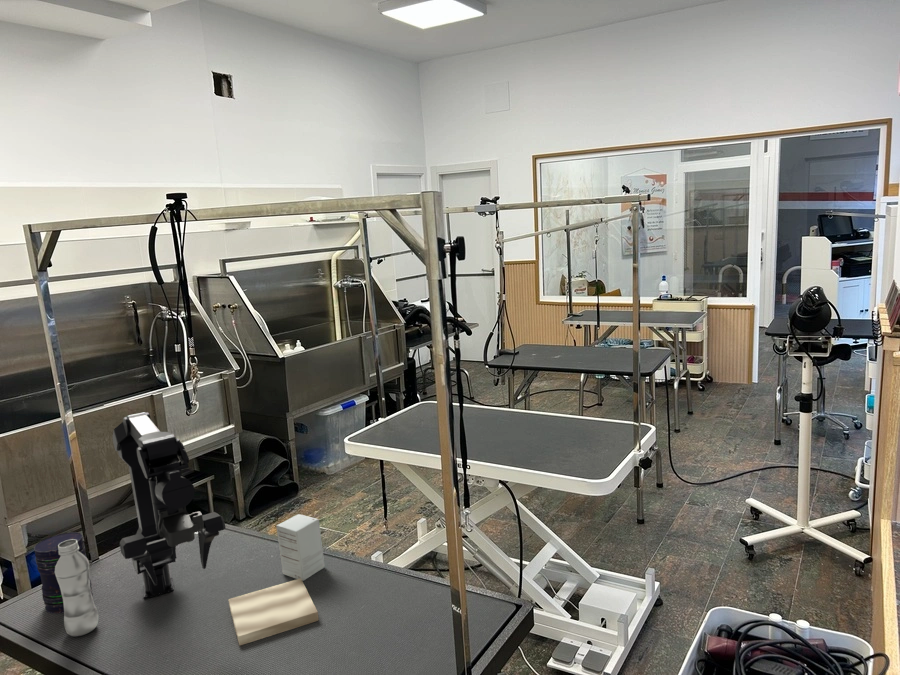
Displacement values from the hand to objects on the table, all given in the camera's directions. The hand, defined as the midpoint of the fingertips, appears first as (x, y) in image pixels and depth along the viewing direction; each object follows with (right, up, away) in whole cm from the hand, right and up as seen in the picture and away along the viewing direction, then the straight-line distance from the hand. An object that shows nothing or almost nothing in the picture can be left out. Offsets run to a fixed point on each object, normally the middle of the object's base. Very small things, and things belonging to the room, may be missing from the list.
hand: (180, 576), depth 131 cm
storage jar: (-35, -14, +22) cm, 44 cm away
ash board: (+16, -12, +10) cm, 22 cm away
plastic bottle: (-24, -15, +9) cm, 30 cm away
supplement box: (+18, -9, +28) cm, 34 cm away
